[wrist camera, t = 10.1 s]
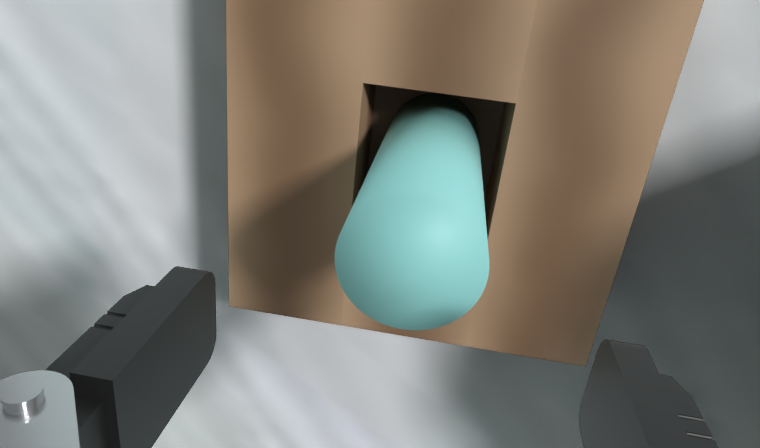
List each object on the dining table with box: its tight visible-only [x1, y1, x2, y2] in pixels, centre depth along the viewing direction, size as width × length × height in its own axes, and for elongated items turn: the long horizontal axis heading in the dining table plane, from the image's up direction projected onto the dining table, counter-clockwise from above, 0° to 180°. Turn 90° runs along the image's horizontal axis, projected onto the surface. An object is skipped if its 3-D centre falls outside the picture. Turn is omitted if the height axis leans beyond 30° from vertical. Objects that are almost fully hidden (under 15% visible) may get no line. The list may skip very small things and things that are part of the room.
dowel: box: [335, 93, 489, 330], centre depth 20 cm, size 4×4×12 cm
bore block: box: [226, 0, 704, 366], centre depth 24 cm, size 16×16×5 cm
